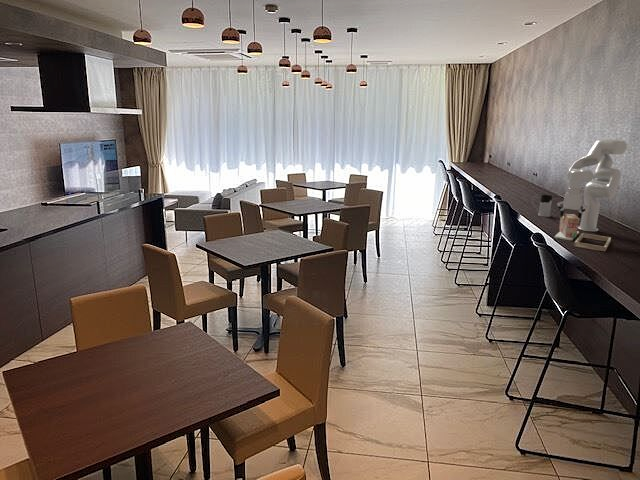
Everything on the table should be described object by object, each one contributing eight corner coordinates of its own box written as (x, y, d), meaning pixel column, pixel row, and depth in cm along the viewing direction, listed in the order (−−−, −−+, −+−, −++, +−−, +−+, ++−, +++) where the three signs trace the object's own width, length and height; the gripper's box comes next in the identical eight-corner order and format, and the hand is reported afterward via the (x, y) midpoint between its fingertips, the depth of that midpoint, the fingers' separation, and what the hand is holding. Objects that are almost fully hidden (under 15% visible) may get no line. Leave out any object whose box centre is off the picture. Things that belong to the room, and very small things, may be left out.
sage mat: (562, 230, 328) (562, 228, 328) (578, 232, 323) (579, 231, 322) (554, 237, 307) (554, 236, 307) (572, 240, 302) (572, 239, 302)
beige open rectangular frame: (581, 237, 312) (582, 233, 311) (610, 241, 303) (611, 237, 302) (573, 246, 289) (574, 242, 288) (604, 251, 280) (605, 247, 279)
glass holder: (549, 217, 369) (552, 197, 365) (528, 214, 377) (531, 194, 373) (551, 215, 376) (554, 195, 373) (531, 212, 384) (534, 193, 380)
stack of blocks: (558, 229, 326) (561, 210, 323) (568, 230, 325) (571, 211, 321) (565, 237, 306) (568, 217, 303) (576, 238, 305) (579, 218, 301)
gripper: (590, 191, 306) (586, 218, 311) (560, 188, 316) (556, 215, 320) (589, 193, 300) (584, 221, 305) (558, 190, 310) (554, 217, 314)
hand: (570, 217), depth 313 cm, fingers open, 9 cm apart
